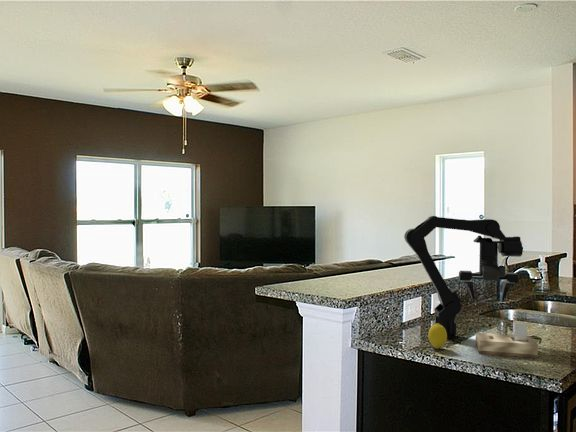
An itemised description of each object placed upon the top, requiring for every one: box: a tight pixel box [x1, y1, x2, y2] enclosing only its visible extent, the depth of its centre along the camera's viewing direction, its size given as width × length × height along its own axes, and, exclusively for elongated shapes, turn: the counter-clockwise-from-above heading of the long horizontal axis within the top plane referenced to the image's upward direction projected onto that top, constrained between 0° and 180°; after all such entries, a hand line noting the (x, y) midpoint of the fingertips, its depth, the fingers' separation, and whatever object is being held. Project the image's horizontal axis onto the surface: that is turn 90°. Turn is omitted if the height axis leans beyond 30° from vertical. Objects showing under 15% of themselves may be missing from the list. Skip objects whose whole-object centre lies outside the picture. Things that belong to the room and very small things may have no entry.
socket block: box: [475, 332, 539, 359], centre depth 153 cm, size 16×10×4 cm, turn 76°
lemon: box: [427, 323, 448, 350], centre depth 155 cm, size 6×6×8 cm
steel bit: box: [512, 320, 528, 342], centre depth 152 cm, size 3×3×8 cm
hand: (487, 301), depth 170 cm, fingers open, 9 cm apart
